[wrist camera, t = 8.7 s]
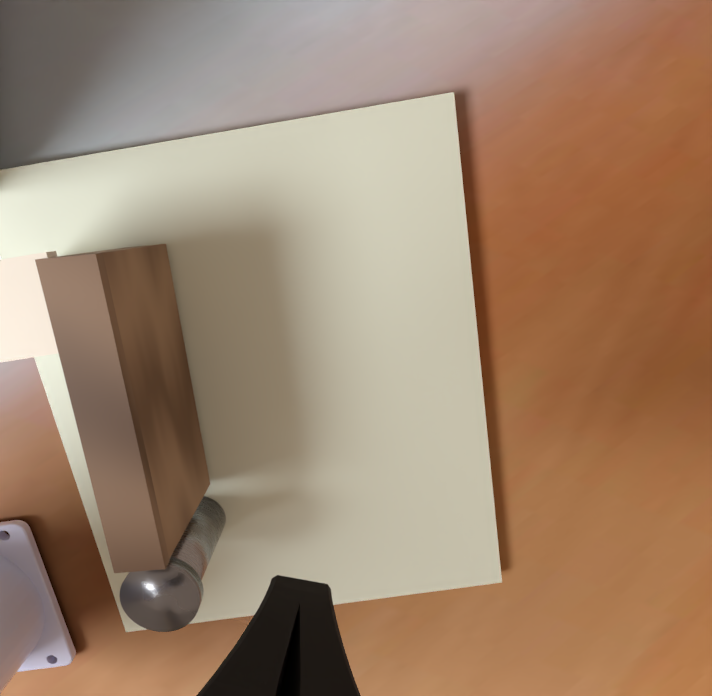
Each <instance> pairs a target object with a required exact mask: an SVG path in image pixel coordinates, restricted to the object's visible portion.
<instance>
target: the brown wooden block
mask: <svg viewBox="0 0 712 696" xmlns="http://www.w3.org/2000/svg"><path fill="white" fill-rule="evenodd" d="M35 262H36V266H37V270H38V274H39V278H40V282H41V286H42V290H43V294H44V297H45V301H46V305H47V309H48V313H49V317H50V321H51V325H52V329H53V333H54V337H55V341H56V345H57V349H58V353H59V357H60V361H61V365H62V369H63V373H64V377H65V381H66V385H67V389H68V392H69V396H70V400H71V404H72V408H73V412H74V416H75V420H76V424H77V428H78V432H79V436H80V440H81V444H82V448H83V452H84V456H85V460H86V464H87V468H88V472H89V476H90V480H91V484H92V488H93V491H94V495H95V499H96V503H97V507H98V511H99V515H100V519H101V523H102V527H103V531H104V535H105V539H106V543H107V547H108V551H109V555H110V559H111V563H112V567H113V571H114V573H124V572H137V571H149V570H162V569H166V567H167V565H168V563H169V562H170V560H169V559H170V557H171V555H172V553H173V552H174V550H175V548H176V546H177V544H178V542H179V541H180V539H181V537H182V535H183V533H184V531H185V530H186V528H187V526H188V524H189V522H190V520H191V519H192V517H193V515H194V513H195V511H196V509H197V507H198V506H199V504H200V502H201V500H202V498H203V496H204V495H205V493H206V491H207V489H208V487H209V485H210V479H209V474H208V468H207V463H206V458H205V452H204V447H203V441H202V436H201V431H200V425H199V420H198V414H197V409H196V404H195V398H194V393H193V387H192V382H191V377H190V371H189V366H188V360H187V355H186V350H185V344H184V339H183V333H182V328H181V323H180V317H179V312H178V306H177V301H176V296H175V290H174V285H173V279H172V274H171V269H170V263H169V258H168V252H167V247H166V244H157V245H146V246H136V247H125V248H117V249H110V250H103V251H95V252H88V253H80V254H73V255H65V256H58V257H50V258H42V259H35Z"/></svg>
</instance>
